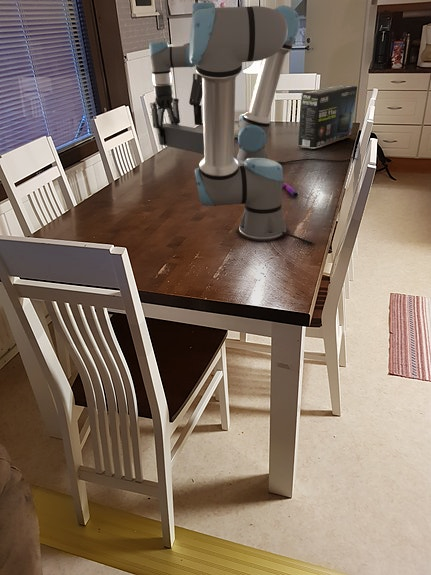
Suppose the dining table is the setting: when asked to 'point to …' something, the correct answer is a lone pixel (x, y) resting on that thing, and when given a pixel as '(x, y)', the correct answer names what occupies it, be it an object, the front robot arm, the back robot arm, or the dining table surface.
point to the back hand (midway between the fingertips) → (168, 142)
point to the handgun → (289, 188)
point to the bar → (184, 137)
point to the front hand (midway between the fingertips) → (208, 121)
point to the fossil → (236, 130)
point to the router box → (326, 115)
